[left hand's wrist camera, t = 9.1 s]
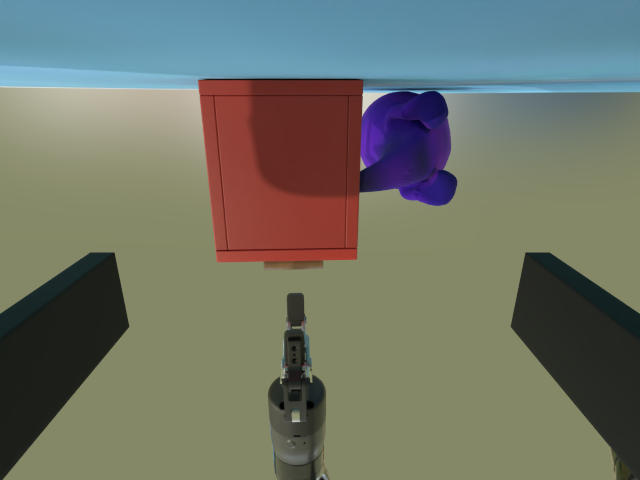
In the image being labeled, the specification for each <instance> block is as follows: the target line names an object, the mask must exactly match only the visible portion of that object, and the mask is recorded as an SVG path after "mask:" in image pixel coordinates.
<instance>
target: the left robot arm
mask: <svg viewBox="0 0 640 480" xmlns="http://www.w3.org/2000/svg"><path fill="white" fill-rule="evenodd" d="M128 328H129V323H128V318H127V313H126V308H125V303H124V298H123V293H122V288H121V283H120V278H119V273H118V268H117V263H116V258H115V253H89V254H88V255H86V256H85V257H83V258H82V259H80V260H79V261H77V262H76V263H74V264H73V265H71V266H70V267H68V268H67V269H66V270H64V271H63V272H61V273H60V274H58V275H57V276H55V277H54V278H52V279H51V280H49V281H48V282H46V283H45V284H43V285H42V286H40V287H39V288H38V289H36V290H35V291H33V292H32V293H30V294H29V295H27V296H26V297H24V298H23V299H21V300H20V301H18V302H17V303H15V304H14V305H13V306H11V307H10V308H8V309H7V310H5V311H4V312H2V313H1V314H0V480H3V478H4V477H5V476H6V475H7V474H8V472H9V471H10V470H11V469H12V468H13V466H14V465H15V464H16V463H17V462H18V460H19V459H20V458H21V457H22V456H23V454H24V453H25V452H26V451H27V450H28V448H29V447H30V446H31V445H32V444H33V442H34V441H35V440H36V439H37V437H38V436H39V435H40V434H41V433H42V431H43V430H44V429H45V428H46V427H47V425H48V424H49V423H50V422H51V421H52V419H53V418H54V417H55V416H56V415H57V413H58V412H59V411H60V410H61V409H62V407H63V406H64V405H65V404H66V402H67V401H68V400H69V399H70V398H71V396H72V395H73V394H74V393H75V392H76V390H77V389H78V388H79V387H80V386H81V384H82V383H83V382H84V381H85V380H86V378H87V377H88V376H89V375H90V374H91V372H92V371H93V370H94V369H95V367H96V366H97V365H98V364H99V363H100V362H101V360H102V359H103V358H104V357H105V355H106V354H107V353H108V352H109V351H110V349H111V348H112V347H113V346H114V345H115V343H116V342H117V341H118V340H119V339H120V337H121V336H122V335H123V334H124V333H125V331H126V330H127V329H128ZM511 328H512V329H513V330H514V331H515V333H516V334H517V335H518V336H519V337H520V339H521V340H522V341H523V342H524V343H525V345H526V346H527V347H528V348H529V349H530V351H531V352H532V353H533V354H534V355H535V357H536V358H537V359H538V360H539V362H540V363H541V364H542V365H543V366H544V368H545V369H546V370H547V371H548V372H549V374H550V375H551V376H552V377H553V378H554V380H555V381H556V382H557V383H558V384H559V386H560V387H561V388H562V389H563V390H564V392H565V393H566V394H567V395H568V396H569V398H570V399H571V400H572V401H573V403H574V404H575V405H576V406H577V407H578V409H579V410H580V411H581V412H582V413H583V415H584V416H585V417H586V418H587V419H588V421H589V422H590V423H591V424H592V425H593V427H594V428H595V429H596V430H597V431H598V433H599V434H600V435H601V436H602V437H603V439H604V440H605V441H606V442H607V444H608V445H609V446H610V447H611V448H612V450H613V451H614V452H615V453H616V454H617V456H618V457H619V458H620V459H621V460H622V462H623V463H624V464H625V465H626V466H627V468H628V469H629V470H630V471H631V473H632V474H633V475H634V476H635V477H636V479H637V480H640V314H639V313H638V312H636V311H635V310H633V309H632V308H630V307H629V306H627V305H626V304H625V303H623V302H622V301H620V300H619V299H617V298H616V297H614V296H613V295H611V294H610V293H608V292H607V291H605V290H604V289H602V288H601V287H600V286H598V285H597V284H595V283H594V282H592V281H591V280H589V279H588V278H586V277H585V276H583V275H582V274H580V273H579V272H577V271H576V270H574V269H573V268H572V267H570V266H569V265H567V264H566V263H564V262H563V261H561V260H560V259H558V258H557V257H555V256H554V255H552V254H551V253H525V258H524V263H523V268H522V273H521V278H520V283H519V288H518V293H517V298H516V303H515V308H514V313H513V318H512V323H511Z"/></svg>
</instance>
